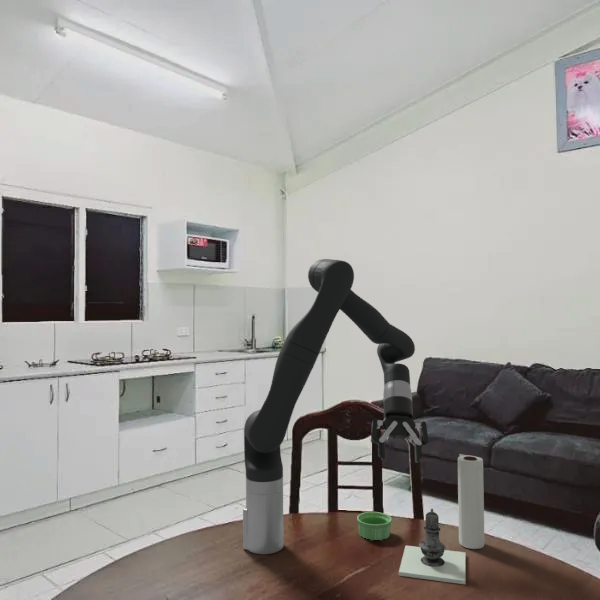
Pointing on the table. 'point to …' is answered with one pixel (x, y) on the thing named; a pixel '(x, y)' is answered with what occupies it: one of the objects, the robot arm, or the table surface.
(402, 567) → the sage tile
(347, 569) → the table surface
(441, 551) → the salt shaker
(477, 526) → the paper towel roll
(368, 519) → the ramekin
